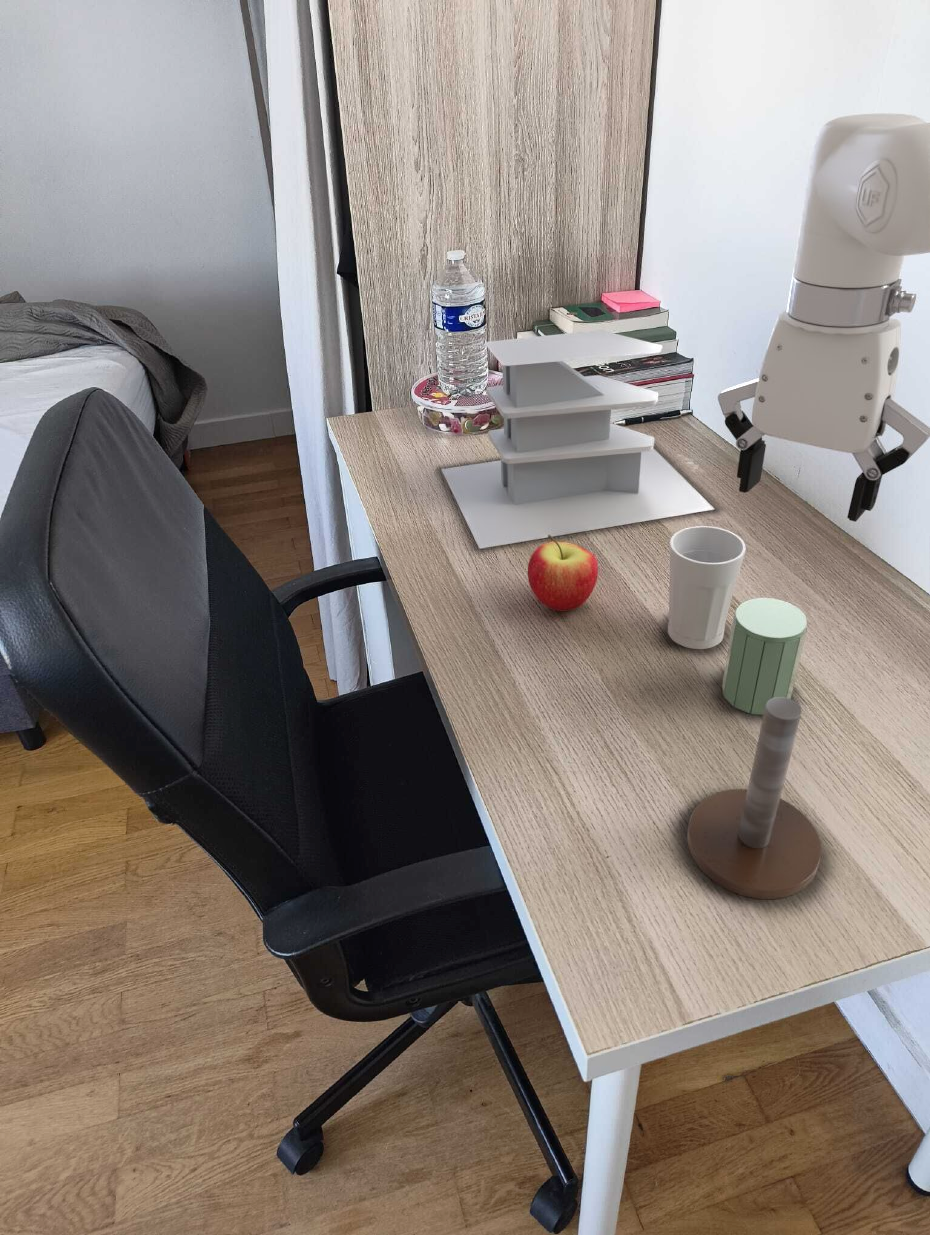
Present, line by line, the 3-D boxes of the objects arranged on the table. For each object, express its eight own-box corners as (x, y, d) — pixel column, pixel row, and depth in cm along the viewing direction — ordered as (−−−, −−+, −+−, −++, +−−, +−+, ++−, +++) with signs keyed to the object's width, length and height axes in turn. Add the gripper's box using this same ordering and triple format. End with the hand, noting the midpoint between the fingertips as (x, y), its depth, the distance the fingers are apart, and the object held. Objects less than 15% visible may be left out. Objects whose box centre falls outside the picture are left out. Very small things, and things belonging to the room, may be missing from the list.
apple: (524, 587, 108) (523, 518, 102) (589, 582, 108) (593, 513, 102) (532, 625, 101) (531, 554, 95) (602, 620, 101) (606, 549, 95)
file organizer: (441, 469, 136) (431, 334, 123) (643, 438, 142) (654, 306, 129) (479, 548, 116) (471, 397, 103) (714, 509, 121) (735, 360, 108)
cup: (738, 652, 95) (754, 562, 88) (666, 654, 95) (677, 565, 88) (722, 611, 101) (735, 524, 94) (655, 613, 102) (664, 527, 95)
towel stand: (838, 835, 74) (882, 697, 64) (788, 923, 67) (829, 783, 58) (721, 779, 80) (745, 645, 70) (664, 855, 73) (683, 718, 64)
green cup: (799, 688, 90) (818, 612, 84) (773, 723, 85) (791, 646, 80) (739, 664, 93) (752, 590, 87) (711, 697, 89) (723, 622, 83)
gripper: (976, 303, 62) (917, 508, 72) (752, 278, 72) (728, 462, 82) (947, 330, 58) (889, 545, 68) (713, 299, 67) (692, 492, 77)
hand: (801, 500), depth 75 cm, fingers open, 9 cm apart
